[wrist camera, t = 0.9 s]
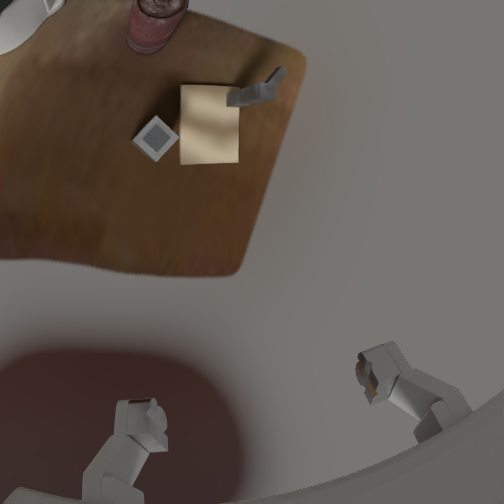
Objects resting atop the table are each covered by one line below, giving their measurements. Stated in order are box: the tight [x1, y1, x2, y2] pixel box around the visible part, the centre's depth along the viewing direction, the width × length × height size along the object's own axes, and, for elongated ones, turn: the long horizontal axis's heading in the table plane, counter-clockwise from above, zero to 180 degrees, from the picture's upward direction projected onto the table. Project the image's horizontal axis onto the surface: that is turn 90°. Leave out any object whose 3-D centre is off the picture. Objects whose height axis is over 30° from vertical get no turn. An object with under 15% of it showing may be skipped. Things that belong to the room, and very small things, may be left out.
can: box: [126, 0, 189, 55], centre depth 27 cm, size 6×6×14 cm
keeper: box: [180, 66, 288, 165], centre depth 37 cm, size 13×11×12 cm
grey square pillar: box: [130, 116, 179, 162], centre depth 35 cm, size 4×4×9 cm
